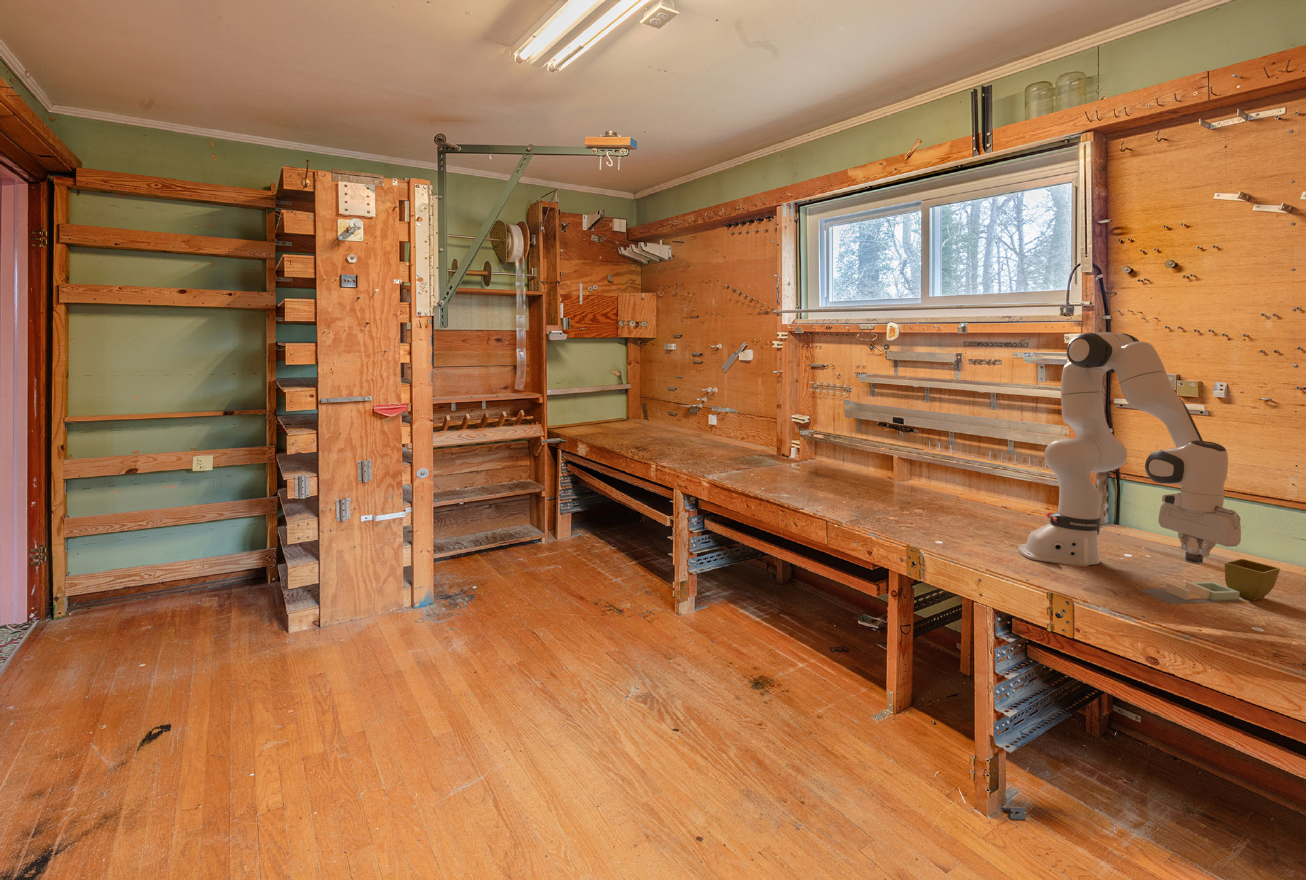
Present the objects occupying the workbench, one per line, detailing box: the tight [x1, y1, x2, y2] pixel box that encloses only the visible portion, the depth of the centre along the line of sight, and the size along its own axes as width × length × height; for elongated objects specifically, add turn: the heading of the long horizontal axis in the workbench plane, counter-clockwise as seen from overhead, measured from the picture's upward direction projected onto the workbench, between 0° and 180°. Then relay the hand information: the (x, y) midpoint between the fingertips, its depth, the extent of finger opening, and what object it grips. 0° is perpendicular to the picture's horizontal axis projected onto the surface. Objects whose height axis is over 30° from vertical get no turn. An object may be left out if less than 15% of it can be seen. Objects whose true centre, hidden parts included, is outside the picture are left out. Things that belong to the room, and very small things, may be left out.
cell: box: [1184, 535, 1206, 565], centre depth 173 cm, size 4×4×8 cm
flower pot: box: [1224, 558, 1281, 601], centre depth 177 cm, size 9×9×9 cm
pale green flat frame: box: [1190, 581, 1240, 600], centre depth 176 cm, size 8×8×2 cm
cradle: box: [1165, 581, 1210, 600], centre depth 175 cm, size 7×6×2 cm
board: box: [1136, 587, 1243, 605], centre depth 175 cm, size 22×10×1 cm, turn 97°
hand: (1194, 553), depth 173 cm, fingers closed on cell, 4 cm apart
